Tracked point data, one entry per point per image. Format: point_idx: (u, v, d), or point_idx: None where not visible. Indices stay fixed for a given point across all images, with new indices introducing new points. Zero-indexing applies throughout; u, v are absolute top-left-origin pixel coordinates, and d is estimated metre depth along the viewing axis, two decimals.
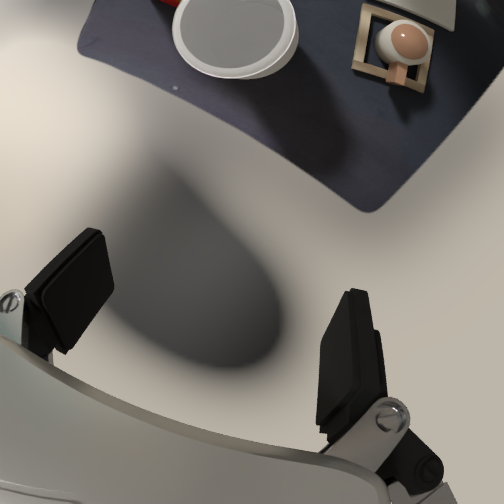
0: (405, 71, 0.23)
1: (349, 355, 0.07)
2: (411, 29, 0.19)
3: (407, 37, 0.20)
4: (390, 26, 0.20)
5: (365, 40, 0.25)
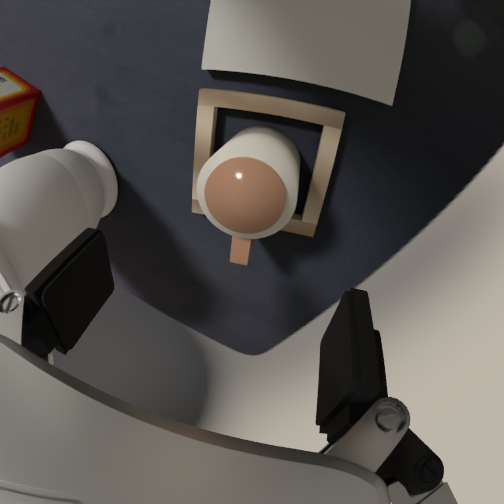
0: (247, 243, 0.18)
1: (349, 355, 0.07)
2: (245, 170, 0.14)
3: (236, 191, 0.15)
4: (204, 170, 0.15)
5: None
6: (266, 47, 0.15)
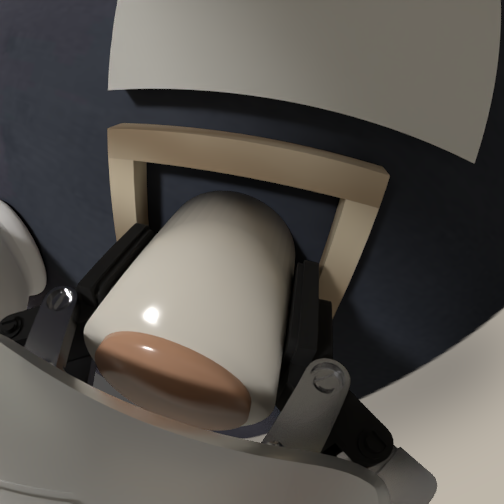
0: None
1: (291, 317, 0.08)
2: (155, 366, 0.06)
3: (150, 386, 0.06)
4: (88, 335, 0.06)
5: None
6: (225, 32, 0.06)
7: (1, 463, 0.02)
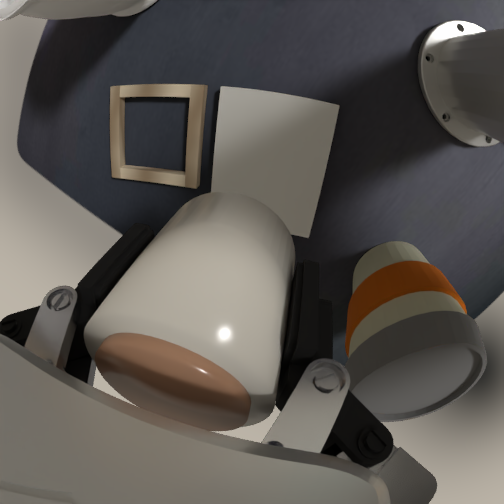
0: None
1: (291, 317, 0.08)
2: (155, 368, 0.06)
3: (150, 387, 0.06)
4: (89, 336, 0.07)
5: (146, 94, 0.22)
6: (237, 134, 0.23)
7: (1, 463, 0.02)
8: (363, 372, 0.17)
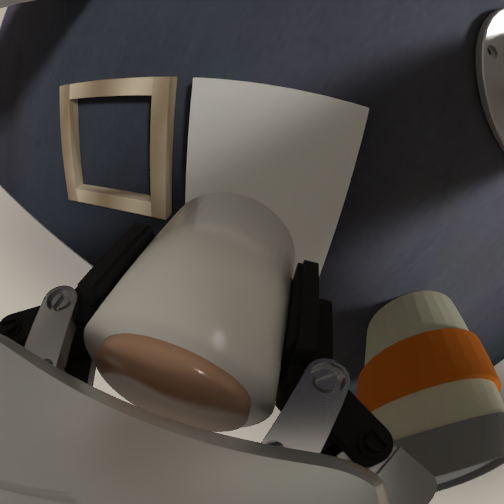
0: None
1: (291, 317, 0.08)
2: (155, 368, 0.06)
3: (150, 388, 0.06)
4: (88, 336, 0.06)
5: (99, 93, 0.15)
6: (218, 148, 0.16)
7: (1, 463, 0.02)
8: None
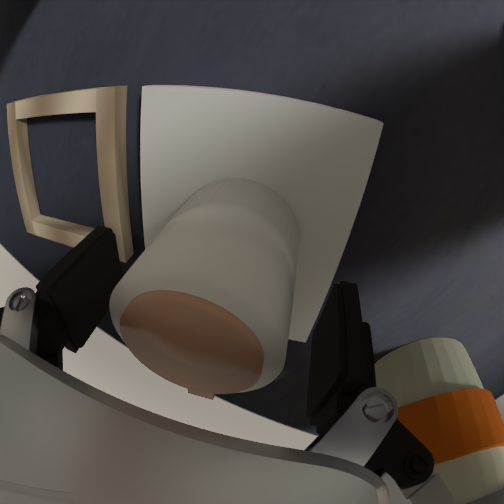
0: None
1: (337, 345, 0.07)
2: (180, 321, 0.07)
3: (171, 346, 0.08)
4: (115, 300, 0.08)
5: (42, 112, 0.11)
6: (177, 179, 0.12)
7: (1, 463, 0.02)
8: None
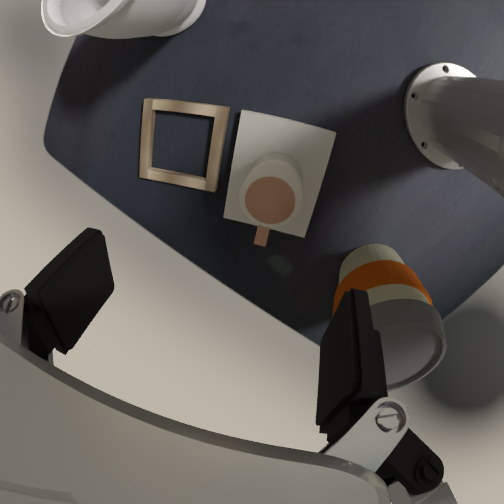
0: (267, 231, 0.28)
1: (349, 355, 0.07)
2: (272, 185, 0.24)
3: (265, 197, 0.24)
4: (245, 182, 0.24)
5: (177, 110, 0.28)
6: (252, 151, 0.29)
7: (1, 463, 0.02)
8: None
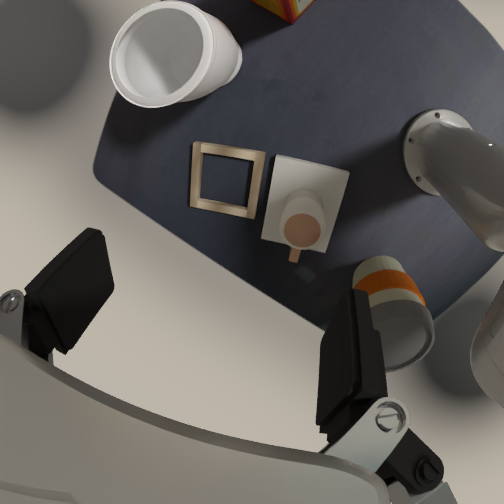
0: (299, 251, 0.37)
1: (349, 355, 0.07)
2: (304, 220, 0.33)
3: (299, 228, 0.33)
4: (284, 218, 0.34)
5: (222, 153, 0.37)
6: (284, 188, 0.38)
7: (1, 463, 0.02)
8: None
